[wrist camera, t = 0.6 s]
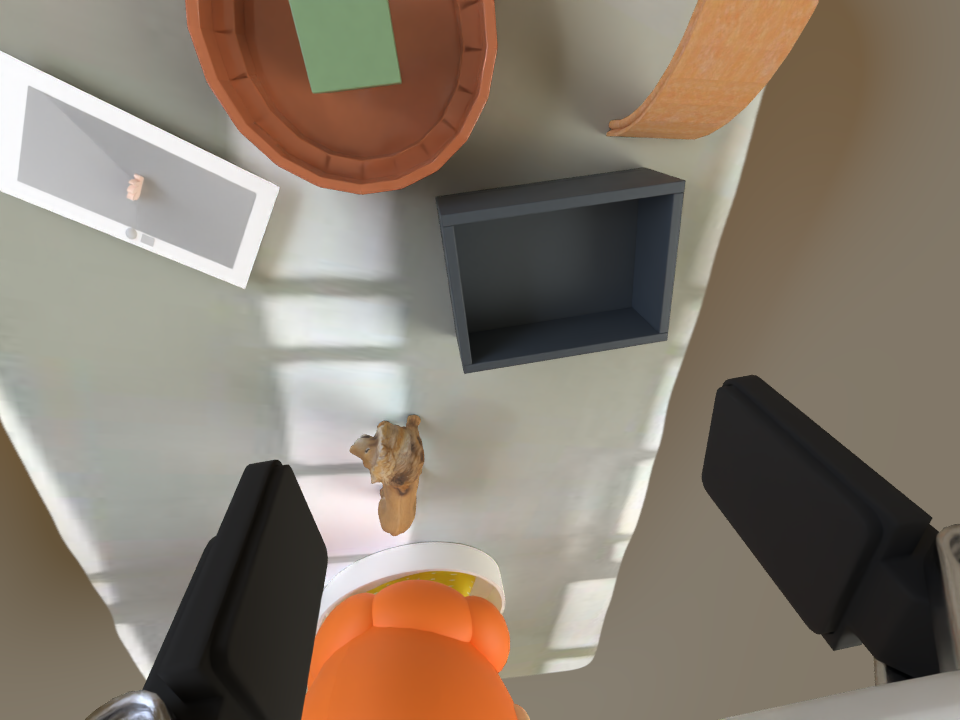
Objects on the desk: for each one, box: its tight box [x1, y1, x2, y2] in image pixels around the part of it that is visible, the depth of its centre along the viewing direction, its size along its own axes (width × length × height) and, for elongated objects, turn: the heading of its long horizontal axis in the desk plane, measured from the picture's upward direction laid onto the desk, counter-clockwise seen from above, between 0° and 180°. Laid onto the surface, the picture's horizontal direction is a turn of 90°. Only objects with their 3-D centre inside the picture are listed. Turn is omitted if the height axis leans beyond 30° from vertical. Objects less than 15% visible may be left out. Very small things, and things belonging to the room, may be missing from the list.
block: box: [289, 0, 402, 94], centre depth 25 cm, size 5×5×6 cm
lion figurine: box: [350, 415, 424, 536], centre depth 40 cm, size 15×5×9 cm, turn 3°
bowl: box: [185, 0, 498, 195], centre depth 26 cm, size 16×16×4 cm
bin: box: [436, 168, 685, 374], centre depth 34 cm, size 11×15×6 cm
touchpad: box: [0, 51, 280, 289], centre depth 29 cm, size 8×15×2 cm, turn 61°
